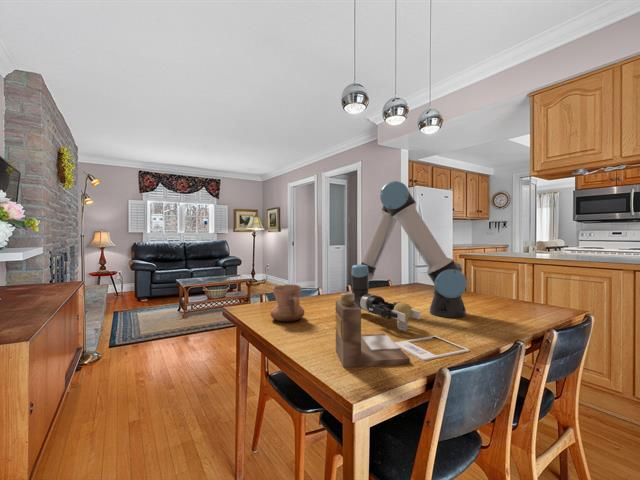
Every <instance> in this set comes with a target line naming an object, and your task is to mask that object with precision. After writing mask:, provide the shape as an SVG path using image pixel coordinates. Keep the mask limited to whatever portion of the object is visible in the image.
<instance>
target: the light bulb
mask: <svg viewBox="0 0 640 480" xmlns="http://www.w3.org/2000/svg"><path fill="white" fill-rule="evenodd" d="M397 303H398V304H396V305H395V306H394V310H395V311H398V312H401V313H404V314H405V322H403V321H400V320H397V323H396V325H397V326H396V327H397V329H398V330H399V331H406V330H407V329H408V325H409V324H408V323H409V322H408V320H409V318H410V315H411V309H412V307H411V306H410V304H408V303H406V302H397ZM410 307H411V308H410Z"/></svg>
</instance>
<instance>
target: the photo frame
mask: <svg viewBox="0 0 640 480" xmlns="http://www.w3.org/2000/svg"><path fill="white" fill-rule="evenodd" d="M433 338H437V339H439V340H441V341H444V342H447V343H448V344H451V345H454V346H455V347H458V348H459V349H460V348H461V349H460V350H456V351H452V352H446V353H440V354H437V355H436V354H434V353H433V352H429V351H428V350H426V349H424V348H422V347H420V346H418V345H415V344H414V343H415V342H419V341H424V340H429V339H433ZM394 342H395V341H394ZM412 342H414V343H412ZM395 343H396V344H397V345H398V346H399V347H400V348H401V350H402V351H403V352H406V353H408V354H409V355H412V356H414V357H415V358H416V359H417V358H418V359H420V360H421V361H422V362H425V361H429V360H434V359H438V358H443V357H448V356H453V355H458V354H463V353H468V352H470V349H468V348H466V347H463V346H462V345H459V344H456V343H454V342H451V341H448V340H447V339H444V338H441V337H439V336H437V335H430V336H425V337H418V338H413V339H408V340H401V341H396V342H395Z"/></svg>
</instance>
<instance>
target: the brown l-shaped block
mask: <svg viewBox="0 0 640 480" xmlns="http://www.w3.org/2000/svg"><path fill="white" fill-rule="evenodd" d="M335 352H336V353H335V354H336V355H337V357H338V359H339V361H340V364H341V366H342V368H343V369H345V368H347V369H348V368H361V367H365V368H366V367H381V366H394V365H410V364H411V358H410V357H409V356H408V355H407V354H406V353H405V351H404V350H402V349H401V348H400V347H399V346H398V345H397V344H396V343H395V341H394V340H393V339H392V338H391V337H390V336H389V335H387V334H385V333H372V334H369V333H368V334H362V309H361V308H360V307H359V306H358V305H356V304H355V303H354V293H349V292H342V293H340V299H335Z"/></svg>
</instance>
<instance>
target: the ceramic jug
mask: <svg viewBox="0 0 640 480" xmlns="http://www.w3.org/2000/svg"><path fill="white" fill-rule="evenodd" d="M272 291H273V296H274V299H275V301H276V303H277V304H276V305H275V306H274V307H273V308H272V309H271V310H270V313H269V314H270V317H271V318H272V319H273V320H276V321H278V322H284V323H289V322H295V321H298V320H301V319H302V318H303V317H304V316H305V309H304V307H303V306H301V305H300V297H301V292H302V285H299V284H290V283H288V284H278V285H275V286H273V287H272Z"/></svg>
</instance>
